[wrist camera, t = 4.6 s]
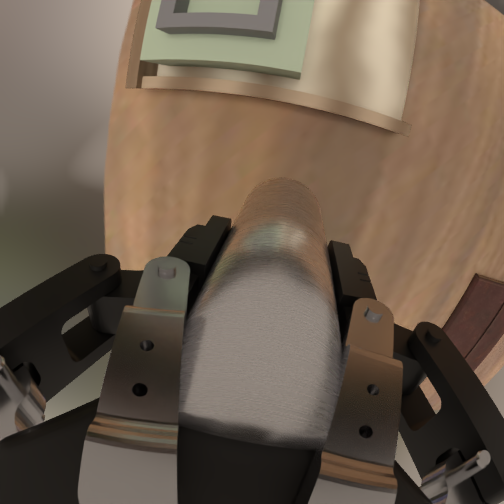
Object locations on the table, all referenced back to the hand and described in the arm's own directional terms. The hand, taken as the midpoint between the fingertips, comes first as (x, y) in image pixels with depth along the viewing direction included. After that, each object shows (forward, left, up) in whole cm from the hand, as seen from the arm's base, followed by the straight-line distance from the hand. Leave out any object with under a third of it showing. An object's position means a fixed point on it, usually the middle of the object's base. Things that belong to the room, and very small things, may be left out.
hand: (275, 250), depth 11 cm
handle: (0, 0, -4) cm, 4 cm away
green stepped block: (+7, -15, -18) cm, 24 cm away
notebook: (-36, +17, -20) cm, 45 cm away
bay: (+3, -15, -19) cm, 24 cm away
